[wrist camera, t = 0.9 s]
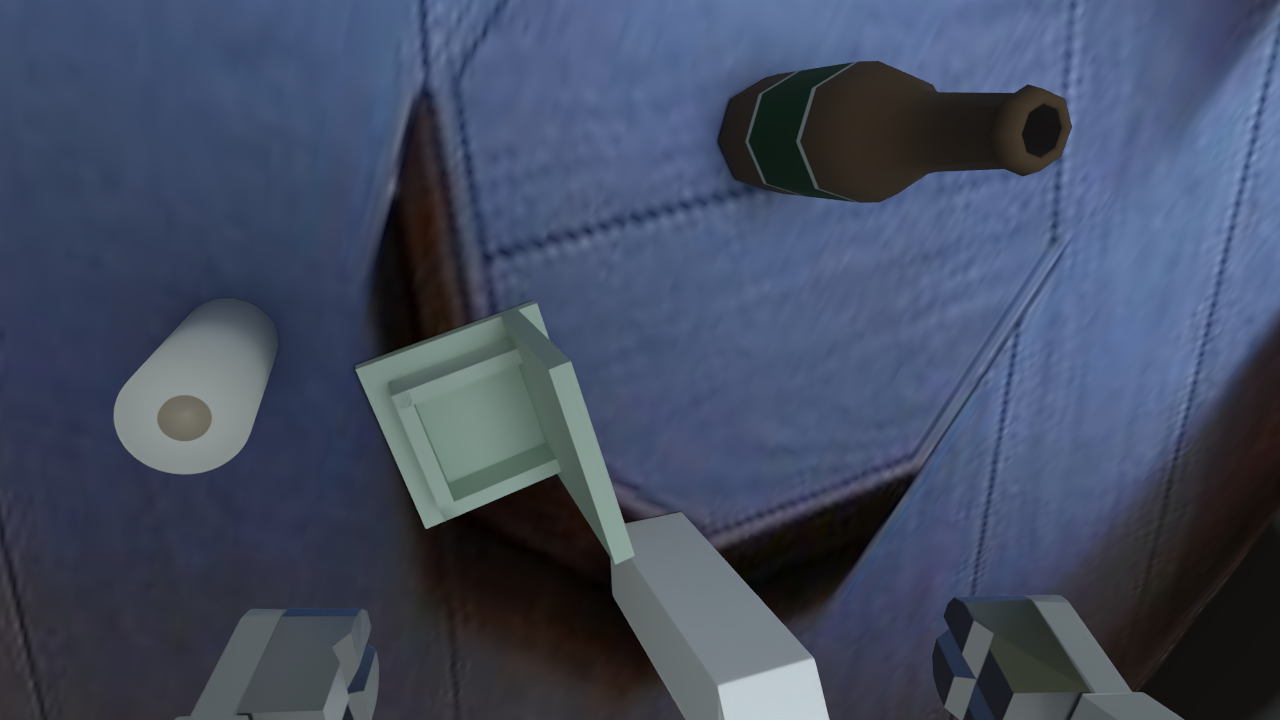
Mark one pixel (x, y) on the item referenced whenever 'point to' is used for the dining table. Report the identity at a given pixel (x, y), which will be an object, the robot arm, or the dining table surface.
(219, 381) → the roll
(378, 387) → the holder
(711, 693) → the milk
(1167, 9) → the dining table surface
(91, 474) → the dining table surface
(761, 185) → the beer bottle
